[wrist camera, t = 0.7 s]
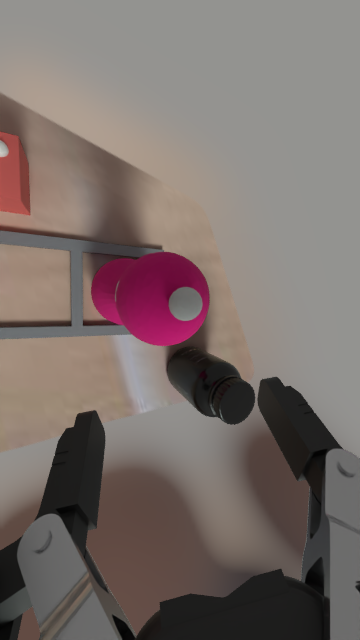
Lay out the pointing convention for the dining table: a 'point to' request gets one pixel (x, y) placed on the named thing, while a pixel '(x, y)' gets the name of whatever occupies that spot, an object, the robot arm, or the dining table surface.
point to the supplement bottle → (211, 385)
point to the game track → (76, 284)
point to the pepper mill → (153, 296)
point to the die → (13, 176)
